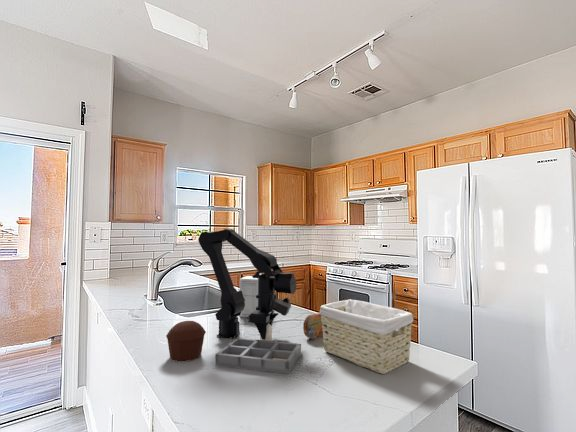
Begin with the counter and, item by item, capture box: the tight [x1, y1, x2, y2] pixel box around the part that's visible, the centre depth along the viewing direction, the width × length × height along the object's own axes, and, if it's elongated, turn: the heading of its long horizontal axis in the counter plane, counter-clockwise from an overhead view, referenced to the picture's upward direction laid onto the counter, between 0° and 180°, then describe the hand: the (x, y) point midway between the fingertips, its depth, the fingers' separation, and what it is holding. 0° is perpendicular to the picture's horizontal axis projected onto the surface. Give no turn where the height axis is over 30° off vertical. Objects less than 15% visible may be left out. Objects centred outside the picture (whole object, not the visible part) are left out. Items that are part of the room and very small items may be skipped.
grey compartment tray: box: [214, 337, 302, 375], centre depth 95 cm, size 21×15×3 cm
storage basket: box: [319, 298, 414, 375], centre depth 97 cm, size 24×16×15 cm
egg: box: [259, 323, 273, 341], centre depth 111 cm, size 4×4×6 cm
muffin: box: [166, 320, 207, 363], centre depth 97 cm, size 12×11×10 cm
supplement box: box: [239, 275, 258, 318], centre depth 145 cm, size 10×9×17 cm
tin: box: [302, 311, 323, 341], centre depth 116 cm, size 15×3×8 cm, turn 132°
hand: (265, 337), depth 110 cm, fingers closed on egg, 4 cm apart
